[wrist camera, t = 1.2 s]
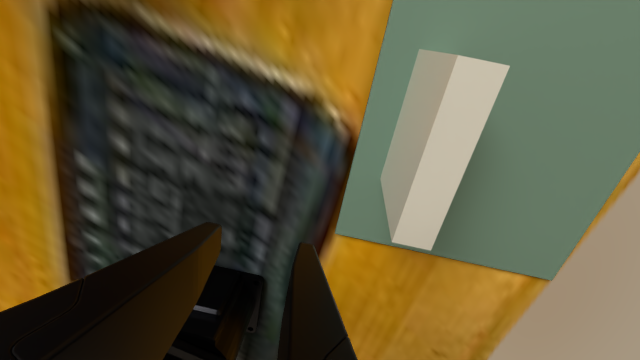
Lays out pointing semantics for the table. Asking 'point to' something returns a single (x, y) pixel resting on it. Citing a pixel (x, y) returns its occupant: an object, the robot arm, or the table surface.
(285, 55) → the table surface
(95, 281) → the robot arm
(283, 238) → the table surface
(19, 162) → the table surface
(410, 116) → the block
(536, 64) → the mat
